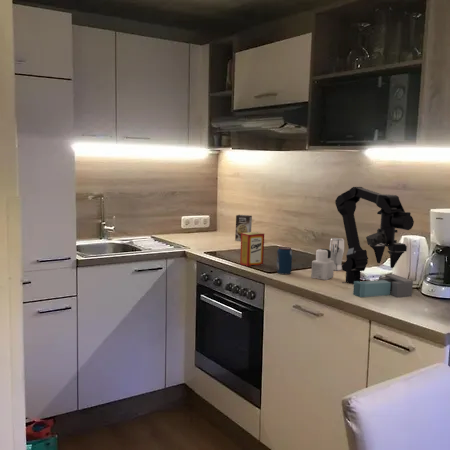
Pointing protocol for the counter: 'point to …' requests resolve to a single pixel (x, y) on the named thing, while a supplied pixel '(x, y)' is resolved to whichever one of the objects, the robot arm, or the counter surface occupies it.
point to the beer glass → (337, 252)
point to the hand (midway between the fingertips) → (385, 265)
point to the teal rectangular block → (371, 288)
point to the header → (399, 285)
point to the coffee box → (242, 225)
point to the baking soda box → (252, 248)
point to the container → (322, 265)
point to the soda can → (284, 260)
